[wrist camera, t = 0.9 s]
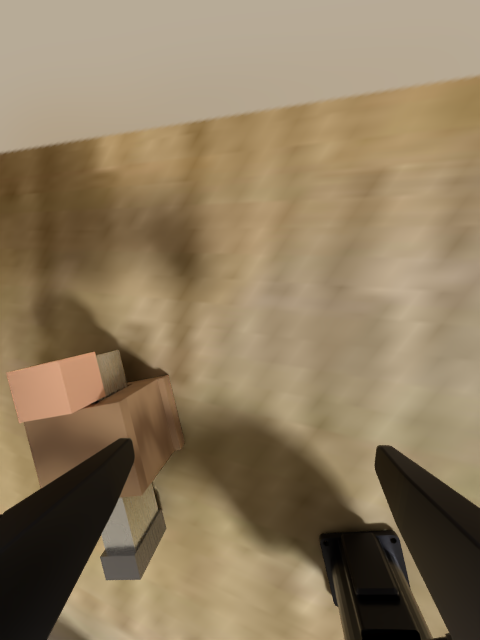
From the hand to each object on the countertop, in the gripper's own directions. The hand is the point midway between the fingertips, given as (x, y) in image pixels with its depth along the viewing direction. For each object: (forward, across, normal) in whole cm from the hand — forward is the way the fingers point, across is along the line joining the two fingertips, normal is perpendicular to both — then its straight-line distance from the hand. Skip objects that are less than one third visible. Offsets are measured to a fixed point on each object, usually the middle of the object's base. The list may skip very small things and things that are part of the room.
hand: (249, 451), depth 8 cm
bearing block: (+12, +13, +8) cm, 19 cm away
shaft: (+11, +12, +10) cm, 19 cm away
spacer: (+9, +14, +2) cm, 17 cm away
